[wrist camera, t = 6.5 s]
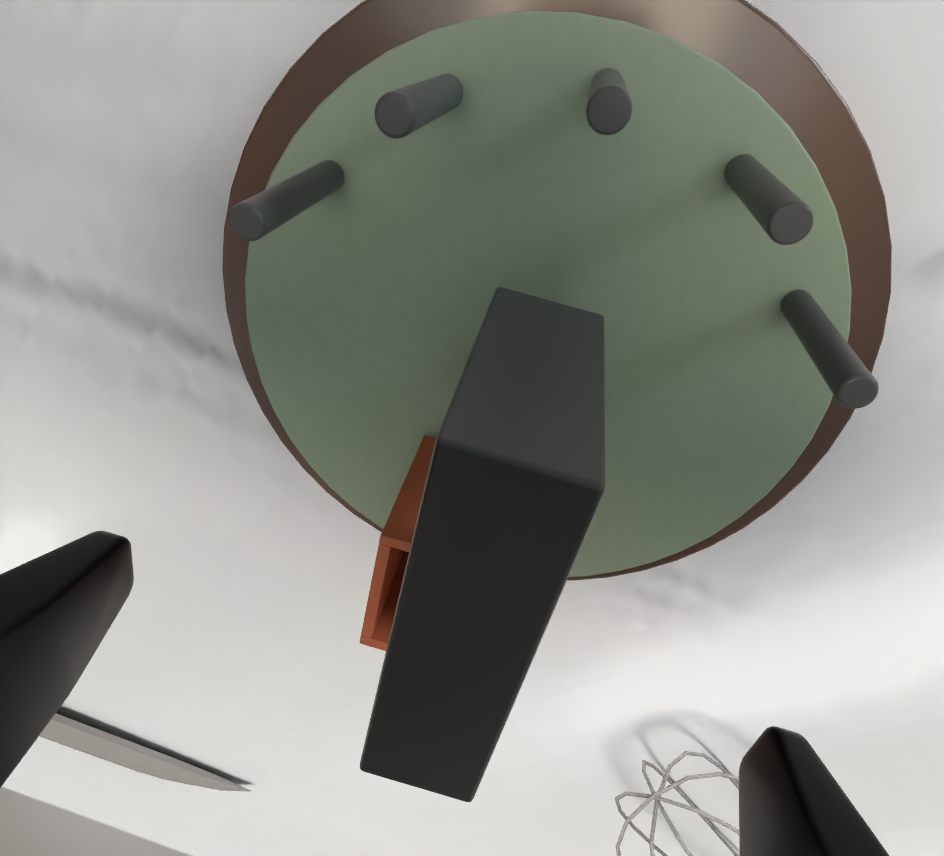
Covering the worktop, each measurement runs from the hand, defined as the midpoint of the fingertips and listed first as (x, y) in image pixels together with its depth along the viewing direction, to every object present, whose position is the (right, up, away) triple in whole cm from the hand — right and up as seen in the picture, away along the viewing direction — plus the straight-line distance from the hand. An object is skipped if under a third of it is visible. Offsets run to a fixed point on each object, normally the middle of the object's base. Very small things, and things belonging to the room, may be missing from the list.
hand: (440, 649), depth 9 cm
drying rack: (+2, +5, +9) cm, 11 cm away
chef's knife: (-20, -13, +26) cm, 36 cm away
